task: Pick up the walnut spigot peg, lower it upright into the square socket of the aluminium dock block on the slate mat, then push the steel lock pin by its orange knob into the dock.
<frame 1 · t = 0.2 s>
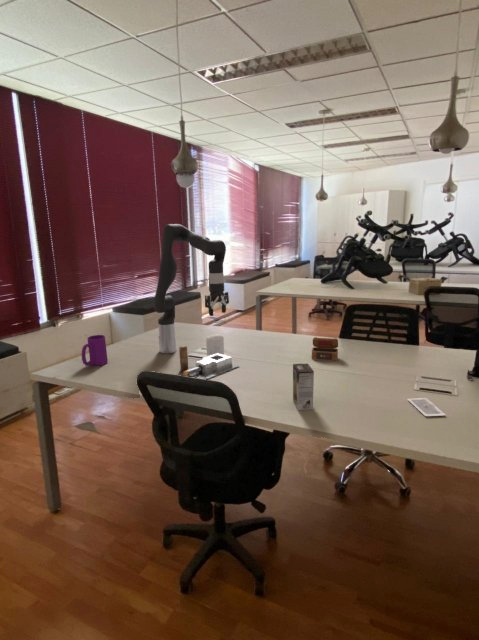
hand: (217, 314, 194), 28 cm above the table, fingers open, 8 cm apart
mug: (95, 365, 210), on the table
touchpad: (425, 409, 151), on the table
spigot: (184, 369, 200), on the table
box: (324, 359, 211), on the table
coffee box: (302, 405, 156), on the table
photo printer: (215, 356, 220), on the table
dock: (217, 366, 202), on the table
lock pin: (195, 370, 191), point 3 cm above the table, slide at 5.0 cm
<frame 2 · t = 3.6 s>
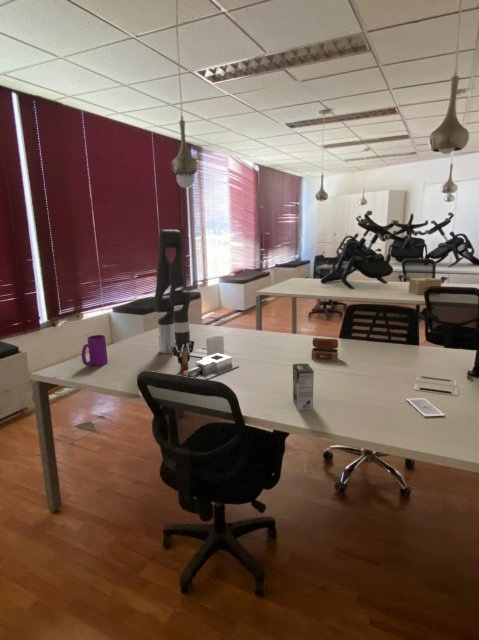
hand: (184, 362, 199), 4 cm above the table, fingers closed on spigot, 4 cm apart
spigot: (184, 369, 200), on the table, touching gripper
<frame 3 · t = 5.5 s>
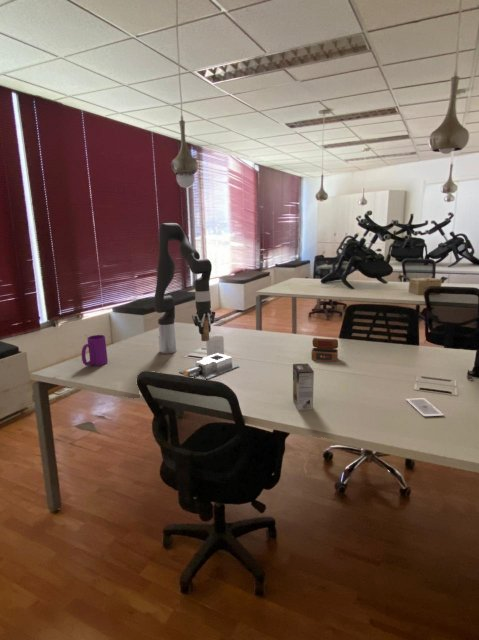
hand: (204, 332, 196), 19 cm above the table, fingers closed on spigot, 4 cm apart
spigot: (205, 340, 197), point 15 cm above the table, touching gripper
when the fingers open (6 cm above the table, at t = 7.7 s): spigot drops 2 cm, resting on dock.
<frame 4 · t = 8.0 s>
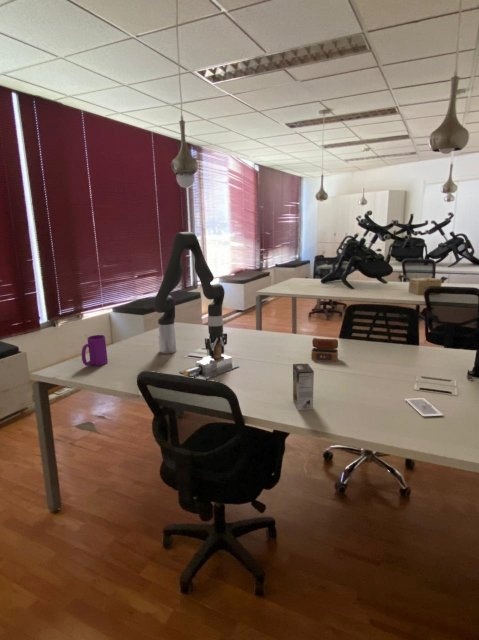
hand: (216, 355, 201), 6 cm above the table, fingers open, 6 cm apart
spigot: (217, 365, 202), point 1 cm above the table, touching dock
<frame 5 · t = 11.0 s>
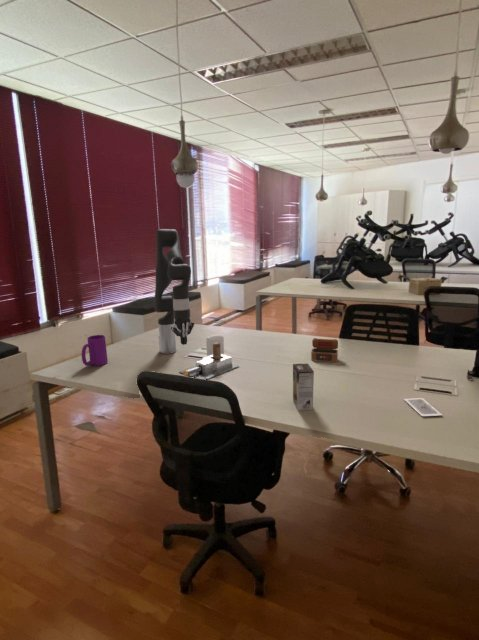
hand: (184, 344, 182), 18 cm above the table, fingers closed
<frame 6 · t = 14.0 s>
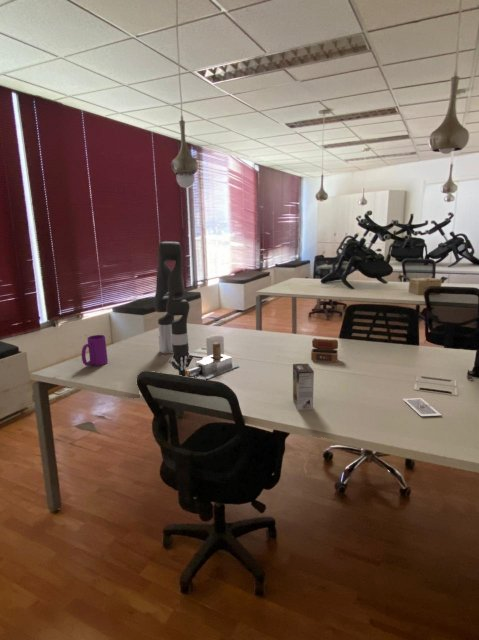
hand: (182, 376, 186), 1 cm above the table, fingers closed
lock pin: (196, 369, 191), point 3 cm above the table, slide at 4.4 cm, touching gripper
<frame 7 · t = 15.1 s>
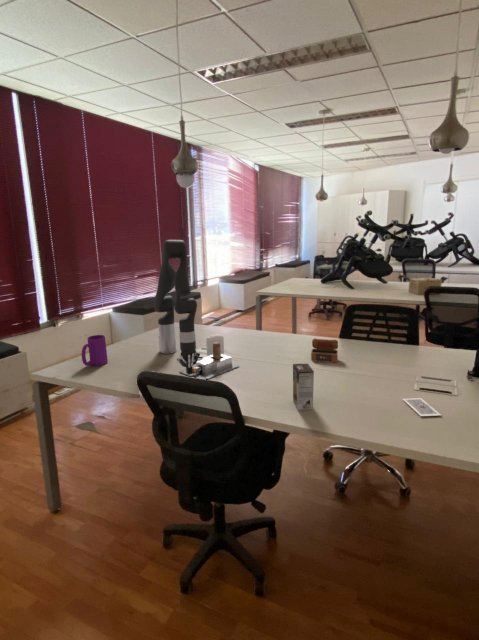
hand: (189, 374, 189), 2 cm above the table, fingers closed
lock pin: (203, 367, 194), point 3 cm above the table, slide at 0.0 cm, touching gripper
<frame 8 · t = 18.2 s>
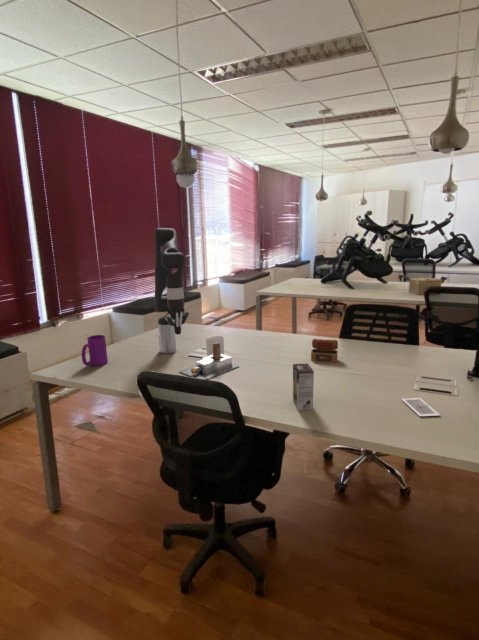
hand: (177, 334, 180), 23 cm above the table, fingers closed
lock pin: (203, 367, 194), point 3 cm above the table, slide at 0.0 cm
at the end: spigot 0.1 cm off-centre on the dock, point 0.7 cm above the dock's base; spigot tilted 2°; lock pin slide at 0.0 cm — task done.
